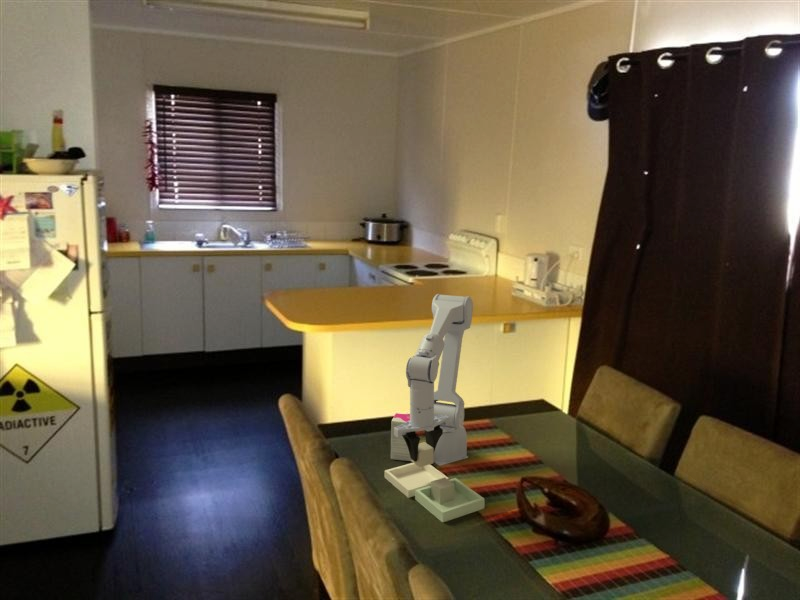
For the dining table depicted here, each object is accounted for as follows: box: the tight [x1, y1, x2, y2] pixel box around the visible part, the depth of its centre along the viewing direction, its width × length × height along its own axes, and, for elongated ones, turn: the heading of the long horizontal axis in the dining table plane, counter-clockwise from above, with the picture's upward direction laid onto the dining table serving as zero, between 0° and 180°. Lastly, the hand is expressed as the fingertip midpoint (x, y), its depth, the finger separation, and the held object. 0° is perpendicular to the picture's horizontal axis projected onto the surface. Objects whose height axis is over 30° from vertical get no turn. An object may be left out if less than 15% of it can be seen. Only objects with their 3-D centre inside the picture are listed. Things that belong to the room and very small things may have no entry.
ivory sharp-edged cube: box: [410, 441, 434, 467], centre depth 166 cm, size 4×4×4 cm
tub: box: [414, 477, 485, 523], centre depth 160 cm, size 12×12×3 cm
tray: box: [384, 462, 450, 499], centre depth 170 cm, size 12×12×2 cm
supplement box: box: [390, 413, 412, 462], centre depth 183 cm, size 6×6×12 cm
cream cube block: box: [431, 478, 454, 504], centre depth 162 cm, size 4×4×4 cm
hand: (421, 457), depth 167 cm, fingers closed on ivory sharp-edged cube, 4 cm apart
